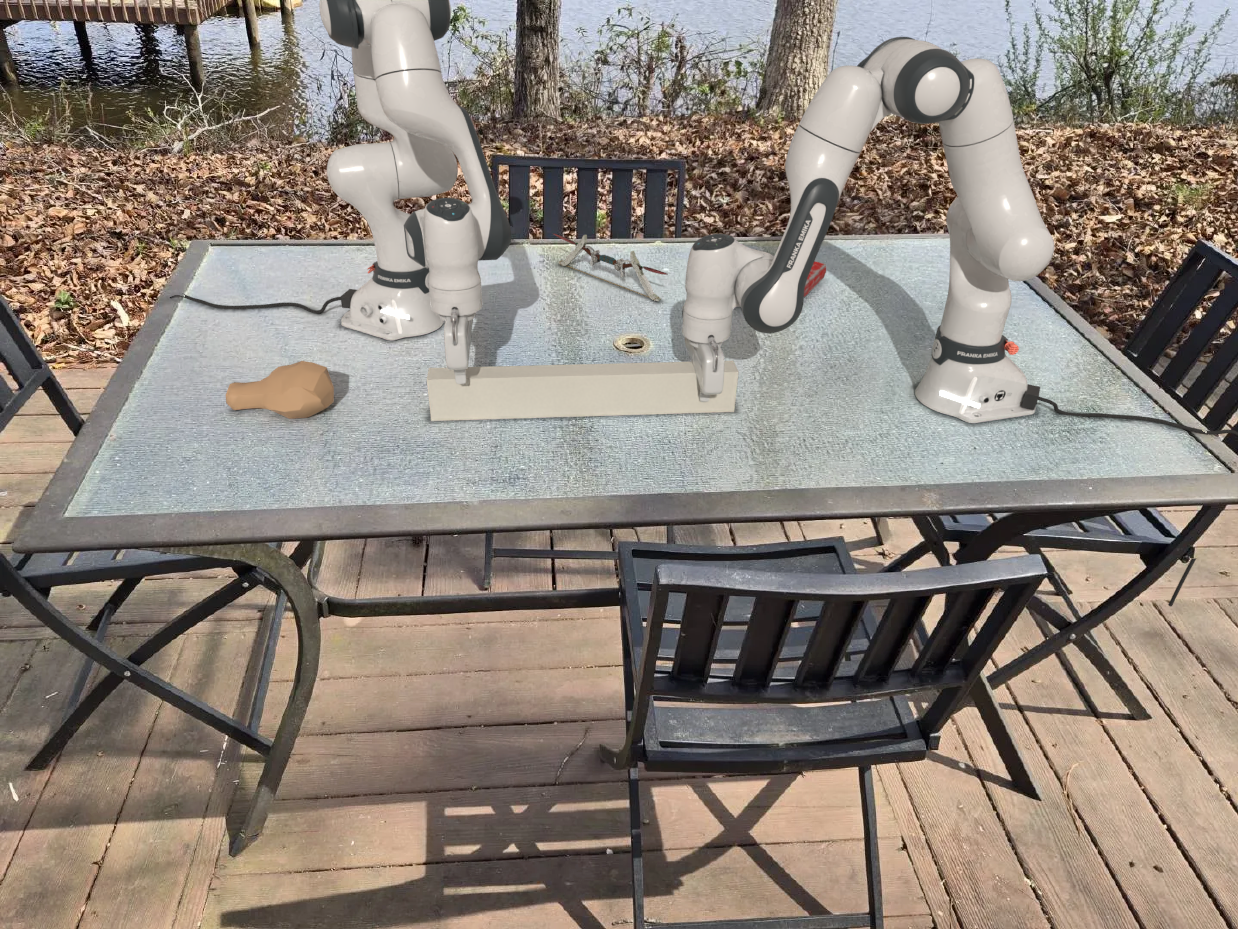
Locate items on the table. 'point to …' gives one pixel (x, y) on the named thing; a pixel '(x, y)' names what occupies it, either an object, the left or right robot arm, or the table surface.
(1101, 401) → the table surface
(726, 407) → the beam
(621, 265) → the bow
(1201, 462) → the table surface
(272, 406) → the squash
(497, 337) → the table surface
